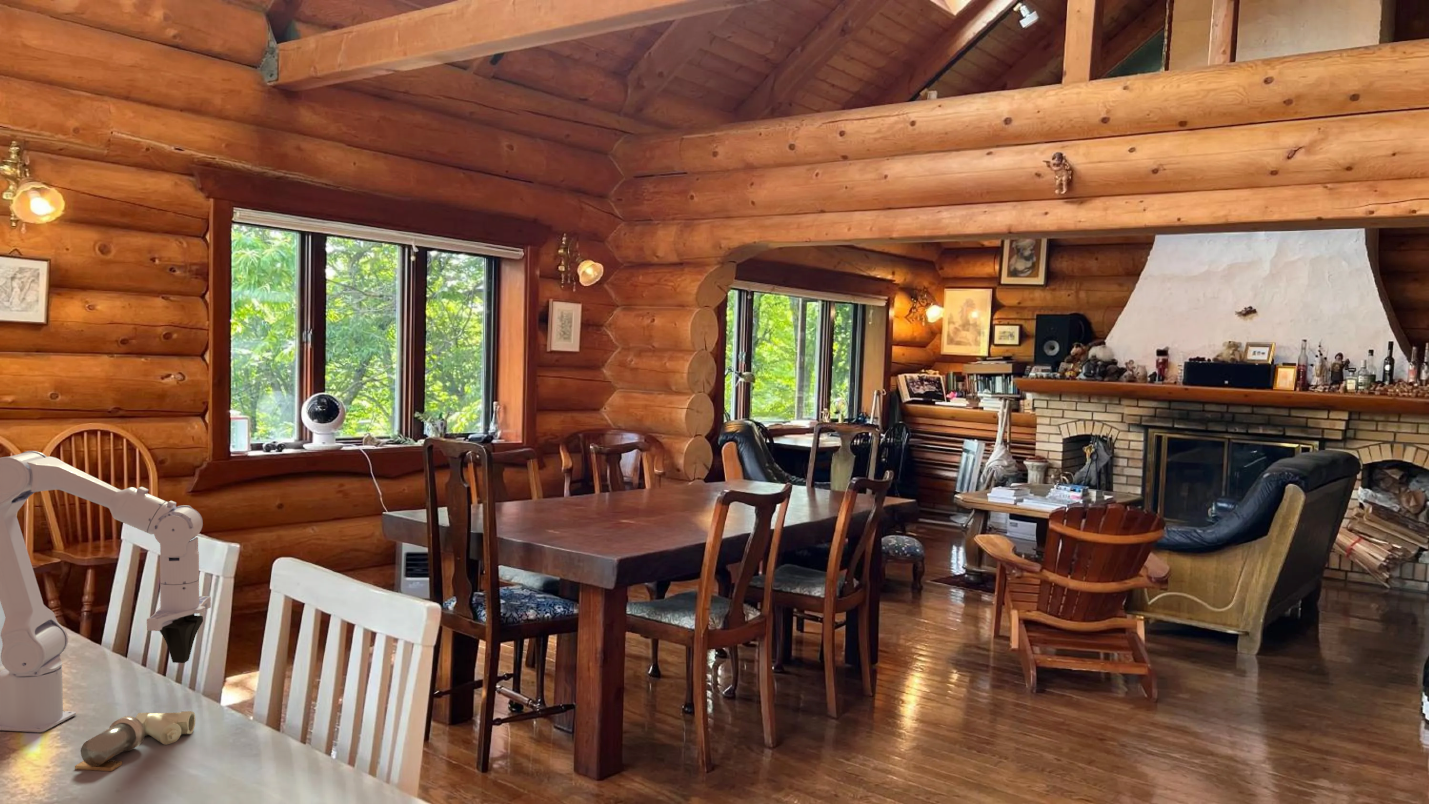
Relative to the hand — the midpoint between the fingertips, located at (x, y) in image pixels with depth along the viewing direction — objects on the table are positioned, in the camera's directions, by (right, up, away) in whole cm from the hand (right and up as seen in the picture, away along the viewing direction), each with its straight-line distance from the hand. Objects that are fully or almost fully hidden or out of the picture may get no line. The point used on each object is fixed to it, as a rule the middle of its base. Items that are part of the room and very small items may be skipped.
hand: (180, 661), depth 170 cm
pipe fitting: (+1, -10, -9) cm, 14 cm away
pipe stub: (-2, -10, -17) cm, 20 cm away
